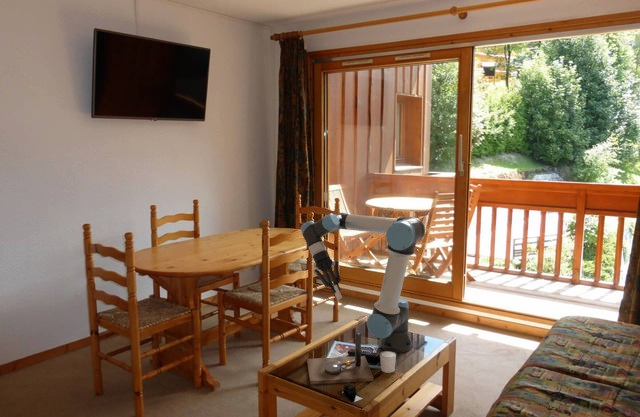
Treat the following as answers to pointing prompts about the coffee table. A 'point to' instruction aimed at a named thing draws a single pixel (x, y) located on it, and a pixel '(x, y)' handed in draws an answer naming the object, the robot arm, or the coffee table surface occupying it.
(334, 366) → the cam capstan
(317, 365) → the crank stand
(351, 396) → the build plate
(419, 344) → the coffee table surface
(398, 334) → the robot arm
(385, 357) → the shot glass
